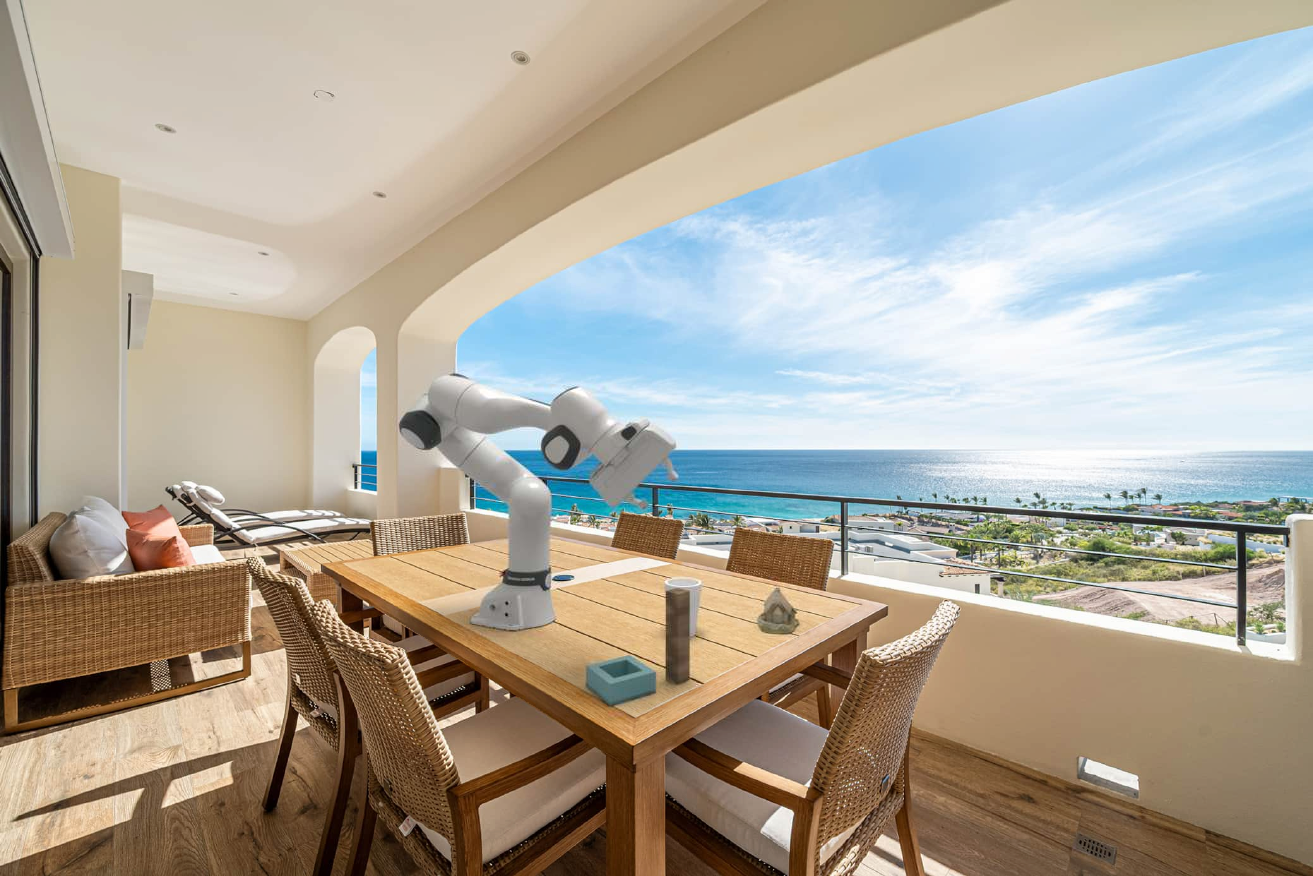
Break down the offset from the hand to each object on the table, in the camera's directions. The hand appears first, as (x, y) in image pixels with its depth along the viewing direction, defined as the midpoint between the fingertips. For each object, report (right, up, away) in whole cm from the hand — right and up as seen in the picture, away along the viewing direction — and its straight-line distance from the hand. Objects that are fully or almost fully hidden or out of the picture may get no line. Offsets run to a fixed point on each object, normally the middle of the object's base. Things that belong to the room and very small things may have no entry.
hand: (660, 493), depth 112 cm
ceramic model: (+32, -39, +30) cm, 58 cm away
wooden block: (+3, -38, -3) cm, 38 cm away
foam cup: (+6, -38, +24) cm, 46 cm away
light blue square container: (-8, -37, -8) cm, 39 cm away
